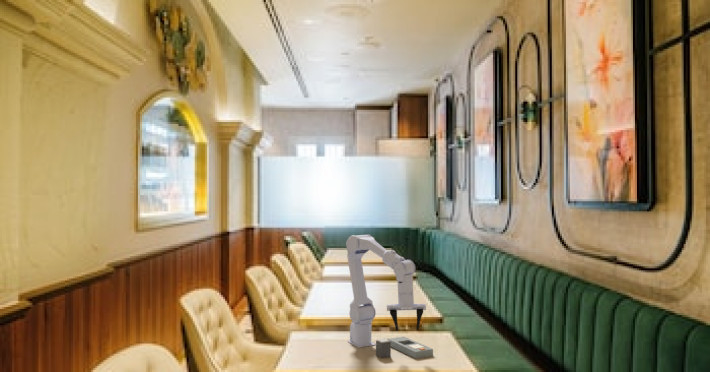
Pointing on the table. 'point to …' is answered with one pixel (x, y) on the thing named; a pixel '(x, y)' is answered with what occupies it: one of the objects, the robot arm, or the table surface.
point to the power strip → (410, 347)
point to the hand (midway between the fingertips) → (407, 329)
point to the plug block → (383, 348)
